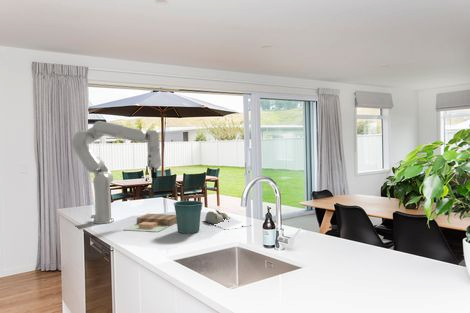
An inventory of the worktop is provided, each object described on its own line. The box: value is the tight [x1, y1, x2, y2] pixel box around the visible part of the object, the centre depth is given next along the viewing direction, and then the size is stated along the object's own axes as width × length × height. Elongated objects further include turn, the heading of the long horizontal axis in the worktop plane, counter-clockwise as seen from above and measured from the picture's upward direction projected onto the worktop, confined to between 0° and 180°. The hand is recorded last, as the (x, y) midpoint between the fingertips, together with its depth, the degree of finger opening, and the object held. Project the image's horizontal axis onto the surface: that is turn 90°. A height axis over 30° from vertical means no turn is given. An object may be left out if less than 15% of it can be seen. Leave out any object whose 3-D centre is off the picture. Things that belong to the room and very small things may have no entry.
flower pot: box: [173, 200, 204, 235], centre depth 214 cm, size 16×16×16 cm
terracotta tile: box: [138, 222, 157, 229], centre depth 224 cm, size 9×6×2 cm, turn 75°
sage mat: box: [123, 223, 170, 233], centre depth 223 cm, size 22×14×1 cm, turn 74°
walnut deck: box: [136, 213, 177, 227], centre depth 237 cm, size 22×14×4 cm, turn 74°
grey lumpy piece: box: [201, 209, 231, 226], centre depth 235 cm, size 33×8×20 cm
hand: (154, 178), depth 244 cm, fingers closed
